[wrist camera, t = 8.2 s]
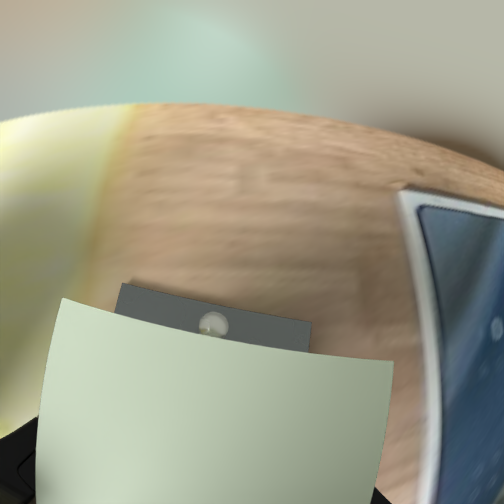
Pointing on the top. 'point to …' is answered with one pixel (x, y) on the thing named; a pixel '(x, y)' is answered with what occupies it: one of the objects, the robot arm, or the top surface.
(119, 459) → the sage block
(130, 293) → the grey peg board
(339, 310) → the top surface
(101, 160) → the top surface
